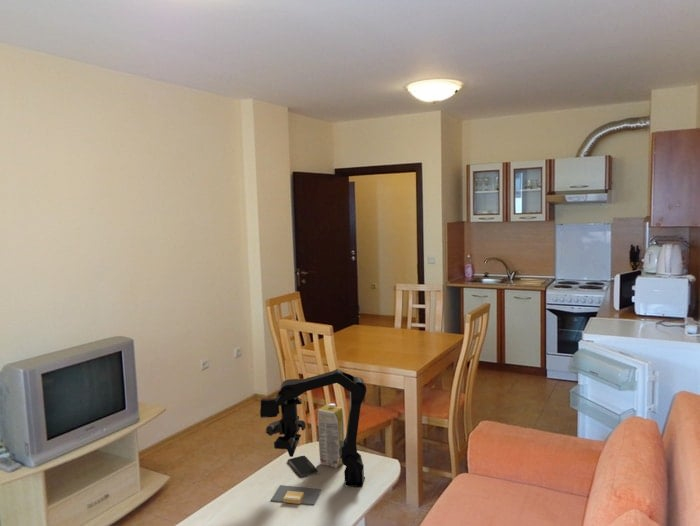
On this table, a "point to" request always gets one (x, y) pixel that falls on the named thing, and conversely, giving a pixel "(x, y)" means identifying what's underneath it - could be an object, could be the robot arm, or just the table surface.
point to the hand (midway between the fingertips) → (291, 456)
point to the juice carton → (330, 434)
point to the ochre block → (293, 497)
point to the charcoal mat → (309, 493)
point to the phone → (302, 466)
